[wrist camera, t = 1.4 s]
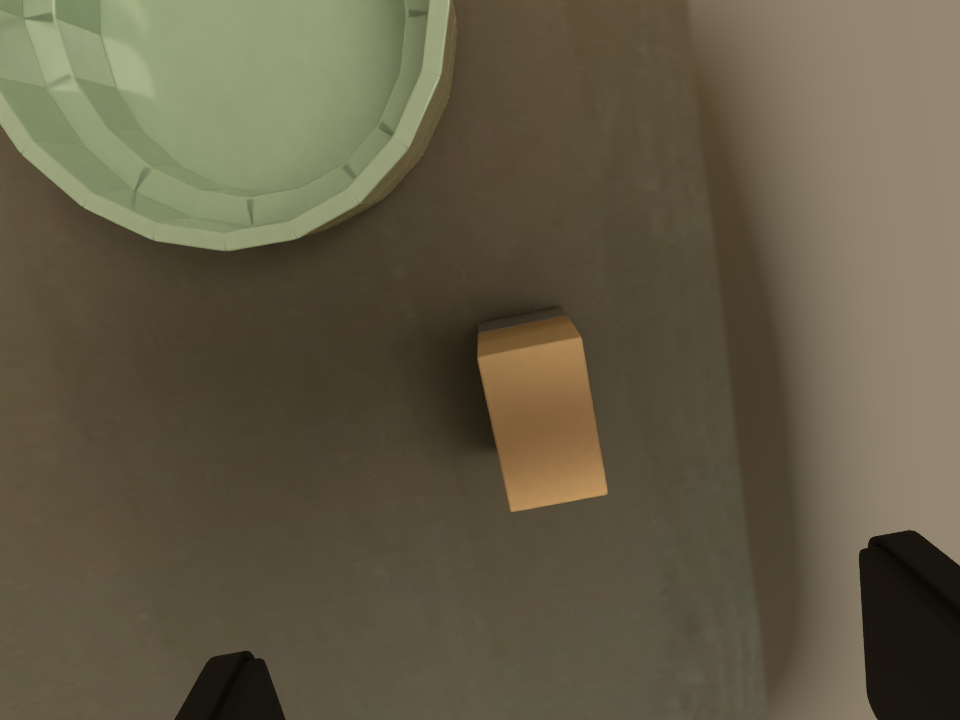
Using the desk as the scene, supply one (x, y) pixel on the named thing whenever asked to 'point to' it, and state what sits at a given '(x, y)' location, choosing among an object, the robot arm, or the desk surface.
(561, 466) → the eraser
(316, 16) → the bowl
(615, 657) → the desk surface
